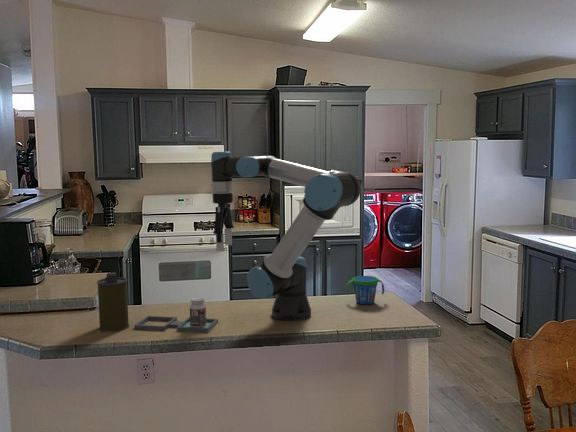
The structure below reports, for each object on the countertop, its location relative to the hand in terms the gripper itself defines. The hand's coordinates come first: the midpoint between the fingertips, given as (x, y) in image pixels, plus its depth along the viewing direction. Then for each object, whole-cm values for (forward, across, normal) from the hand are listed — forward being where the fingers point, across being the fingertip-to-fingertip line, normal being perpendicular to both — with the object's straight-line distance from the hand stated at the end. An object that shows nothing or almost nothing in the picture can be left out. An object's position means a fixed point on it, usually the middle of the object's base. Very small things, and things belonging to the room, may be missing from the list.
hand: (224, 248), depth 220 cm
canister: (+26, +19, -37) cm, 49 cm away
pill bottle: (+26, +16, -7) cm, 31 cm away
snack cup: (+27, -22, +53) cm, 63 cm away
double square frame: (+26, +16, -15) cm, 34 cm away
